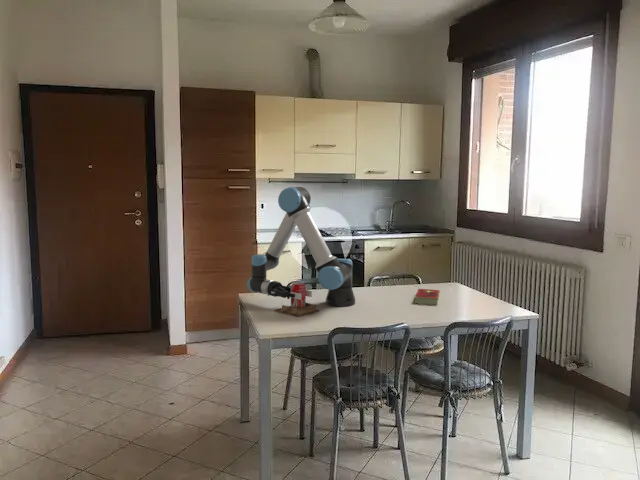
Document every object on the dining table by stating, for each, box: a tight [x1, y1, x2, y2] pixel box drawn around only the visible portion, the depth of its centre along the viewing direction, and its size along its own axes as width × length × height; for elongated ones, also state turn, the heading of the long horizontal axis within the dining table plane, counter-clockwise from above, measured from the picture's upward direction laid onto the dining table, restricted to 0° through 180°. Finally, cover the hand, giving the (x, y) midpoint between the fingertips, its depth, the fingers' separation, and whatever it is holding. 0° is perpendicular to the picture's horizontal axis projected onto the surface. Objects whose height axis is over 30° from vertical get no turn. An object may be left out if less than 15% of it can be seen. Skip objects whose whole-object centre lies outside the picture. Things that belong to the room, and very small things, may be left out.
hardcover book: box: [413, 288, 441, 306], centre depth 279 cm, size 12×21×4 cm, turn 164°
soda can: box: [290, 281, 307, 309], centre depth 251 cm, size 7×7×12 cm
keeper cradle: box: [274, 302, 320, 318], centre depth 253 cm, size 16×14×3 cm
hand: (306, 295), depth 248 cm, fingers closed on soda can, 7 cm apart
